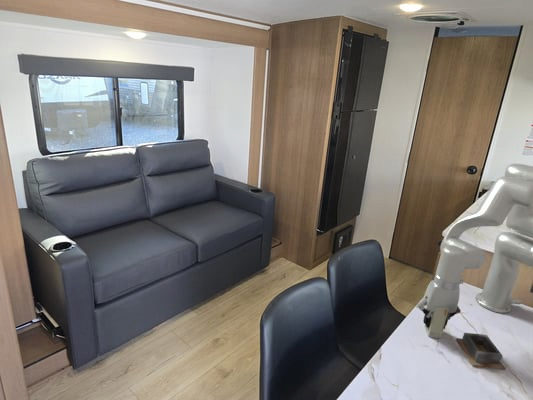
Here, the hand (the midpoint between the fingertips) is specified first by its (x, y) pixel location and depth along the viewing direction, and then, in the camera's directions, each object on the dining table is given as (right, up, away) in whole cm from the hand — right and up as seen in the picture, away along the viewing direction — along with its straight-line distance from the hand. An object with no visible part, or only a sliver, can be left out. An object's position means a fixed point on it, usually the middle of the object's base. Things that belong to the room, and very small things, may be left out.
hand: (434, 325), depth 124 cm
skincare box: (0, -3, +1) cm, 3 cm away
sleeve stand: (+11, -7, -8) cm, 15 cm away
